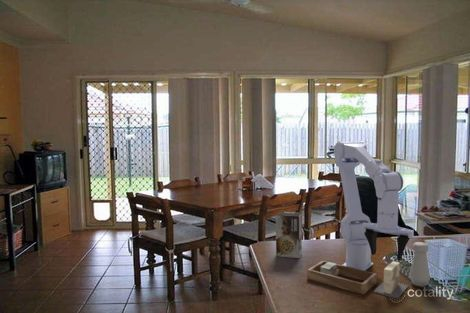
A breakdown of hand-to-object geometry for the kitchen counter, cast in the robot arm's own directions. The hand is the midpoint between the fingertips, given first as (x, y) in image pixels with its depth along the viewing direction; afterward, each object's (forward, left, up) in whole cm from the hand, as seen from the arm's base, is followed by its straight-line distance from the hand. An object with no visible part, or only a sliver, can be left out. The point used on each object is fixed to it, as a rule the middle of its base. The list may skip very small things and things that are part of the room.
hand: (386, 256), depth 118 cm
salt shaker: (-9, +7, -10) cm, 16 cm away
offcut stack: (+2, -17, -10) cm, 20 cm away
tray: (+3, -13, -10) cm, 16 cm away
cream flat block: (0, +2, -10) cm, 10 cm away
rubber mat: (0, +2, -10) cm, 10 cm away
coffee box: (-7, -39, -10) cm, 41 cm away
